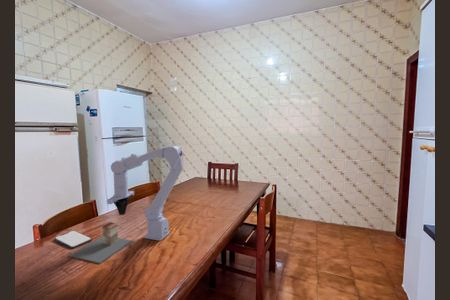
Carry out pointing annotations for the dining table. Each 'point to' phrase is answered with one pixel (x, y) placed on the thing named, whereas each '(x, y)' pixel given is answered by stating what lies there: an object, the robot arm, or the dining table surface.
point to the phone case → (72, 239)
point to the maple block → (110, 233)
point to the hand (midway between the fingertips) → (122, 214)
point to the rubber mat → (99, 250)
